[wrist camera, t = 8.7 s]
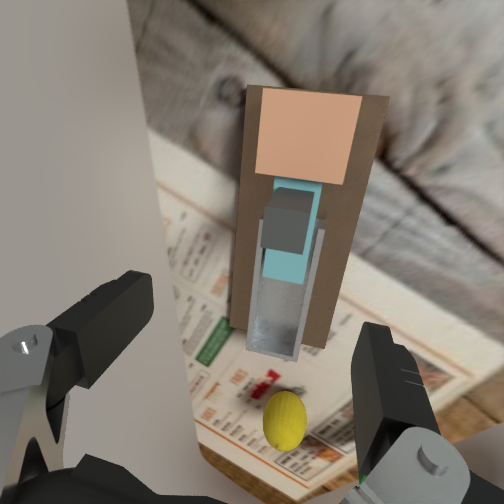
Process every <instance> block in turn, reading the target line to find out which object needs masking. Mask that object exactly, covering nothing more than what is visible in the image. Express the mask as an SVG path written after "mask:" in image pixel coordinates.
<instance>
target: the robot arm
mask: <svg viewBox="0 0 504 504" xmlns="http://www.w3.org/2000/svg"><path fill="white" fill-rule="evenodd" d="M153 310H154V302H153V288H152V278H151V275H150V274H147V273H141V272H138V271H133V270H129V271H127V272H126V273H125V274H123V275H122V276H121V277H119V278H118V279H117V280H112V281H110V282H107V283H105V284H102V285H100V286H99V287H98V288H96V289H95V290H93V291H92V292H91V293H90V295H87V296H85V297H84V298H83V299H81V301H80V302H79V301H78V302H77V303H76V304H74V305H73V306H72V307H70V308H69V309H68V310H66V311H65V312H63V313H62V314H61V315H59V316H58V317H57V318H55V319H54V320H52V321H51V322H50V323H48V324H47V325H45V326H44V325H29V326H25V327H21V328H18V329H15V330H13V331H11V332H9V333H7V334H5V335H4V336H3V337H1V338H0V504H227V503H225V502H222V501H219V500H216V499H213V498H211V497H208V496H178V495H159V494H156V493H154V492H153V491H152V490H151V489H149V488H148V487H147V486H146V485H145V484H143V483H142V482H141V481H140V480H138V479H137V478H136V477H135V476H133V475H132V474H131V473H130V472H129V471H128V470H126V469H125V468H124V467H122V466H120V465H117V464H114V463H111V462H108V461H105V460H103V459H100V458H97V457H94V456H91V455H88V454H85V455H84V457H83V458H82V459H81V461H80V462H79V463H78V465H77V466H76V467H73V468H65V469H64V466H63V446H64V439H65V431H66V423H67V416H68V408H69V400H70V395H69V391H70V390H71V388H73V387H74V386H75V385H77V386H80V387H83V388H87V389H89V388H90V387H91V386H92V385H93V384H94V383H95V382H96V380H97V379H98V378H99V377H100V376H101V375H102V374H103V373H104V371H105V370H106V369H107V368H108V367H109V366H110V365H111V364H112V363H113V361H114V360H115V359H116V358H117V357H118V356H119V355H120V354H121V352H122V351H123V350H124V349H125V348H126V347H127V346H128V345H129V344H130V342H131V341H132V340H133V339H134V338H135V337H136V336H137V335H138V333H139V332H140V331H141V330H142V329H143V328H144V327H145V325H146V324H147V323H148V322H149V320H150V319H151V317H152V314H153ZM351 382H352V395H353V408H354V421H355V434H356V446H357V459H358V472H359V474H363V475H366V476H367V478H366V479H365V480H364V481H363V482H362V484H361V485H360V486H359V487H357V486H355V487H354V488H352V489H351V490H350V492H349V493H348V494H347V495H346V496H345V497H344V499H343V500H342V501H341V502H340V503H339V504H504V490H502V489H501V488H499V487H497V486H495V485H493V484H492V483H489V482H488V481H486V480H485V479H483V478H481V477H479V476H477V475H476V474H475V473H473V472H472V471H470V470H469V469H468V467H467V464H466V462H465V461H464V459H463V457H462V456H461V454H460V453H459V452H458V451H457V449H456V448H455V447H454V446H453V445H452V444H451V443H450V442H448V441H447V440H446V439H445V438H443V437H442V436H441V433H440V431H439V428H438V425H437V422H436V419H435V416H434V413H433V410H432V407H431V405H430V402H429V399H428V396H427V393H426V390H425V388H424V387H423V385H424V384H423V381H422V379H421V376H420V375H419V370H418V367H417V364H416V361H415V359H414V357H413V356H412V355H411V354H410V353H409V351H408V350H407V349H406V348H405V346H404V345H399V344H395V343H394V342H393V338H392V335H391V331H390V328H389V327H388V326H384V325H379V324H375V323H370V322H364V323H363V326H362V329H361V332H360V335H359V338H358V341H357V344H356V347H355V350H354V353H353V357H352V362H351Z"/></svg>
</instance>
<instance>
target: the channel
mask: <svg viewBox="0 0 504 504" xmlns="http://www.w3.org/2000/svg"><path fill="white" fill-rule="evenodd" d="M263 88H271V89H283V90H295V91H306V92H318V93H330V94H342V95H353V96H362V101H361V105H360V110H359V114H358V119H357V123H356V128H355V132H354V136H353V141H352V145H351V150H350V154H349V159H348V163H347V168H346V172H345V177H344V181H343V185H339V184H332V183H325V182H323V184H322V189H321V194H320V199H319V205H318V210H317V215H316V220H315V225H314V230H313V235H312V241H311V246H310V251H309V256H308V261H307V266H306V271H305V277H304V282H303V285H302V284H297V283H292V282H287V281H282V280H277V279H272V278H267V277H263V269H264V261H265V253H266V248H261V247H260V244H261V235H262V227H263V218H264V209H265V205H266V204H267V203H268V201H269V200H270V199H271V197H272V196H273V188H274V180H275V176H274V175H267V174H260V173H255V169H256V158H257V147H258V137H259V126H260V116H261V105H262V94H263ZM389 99H390V96H378V95H366V94H354V93H343V92H331V91H319V90H307V89H295V88H283V87H271V86H259V85H247V92H246V106H245V119H244V133H243V147H242V160H241V174H240V187H239V201H238V215H237V228H236V242H235V256H234V269H233V283H232V296H231V310H230V324H229V327H233V328H237V329H242V330H246V331H248V332H247V341H246V350H249V351H253V352H257V353H261V354H265V355H269V356H273V357H277V358H281V359H285V360H289V361H293V362H297V360H298V355H299V350H300V346H301V344H305V345H309V346H313V347H318V348H322V349H325V345H326V341H327V337H328V333H329V329H330V325H331V322H332V318H333V314H334V310H335V306H336V302H337V299H338V295H339V291H340V287H341V283H342V279H343V275H344V272H345V268H346V264H347V260H348V256H349V252H350V249H351V245H352V241H353V237H354V233H355V229H356V225H357V222H358V218H359V214H360V210H361V206H362V202H363V199H364V195H365V191H366V187H367V183H368V179H369V175H370V172H371V168H372V164H373V160H374V156H375V152H376V149H377V145H378V141H379V137H380V133H381V129H382V125H383V122H384V118H385V114H386V110H387V106H388V102H389Z"/></svg>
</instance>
